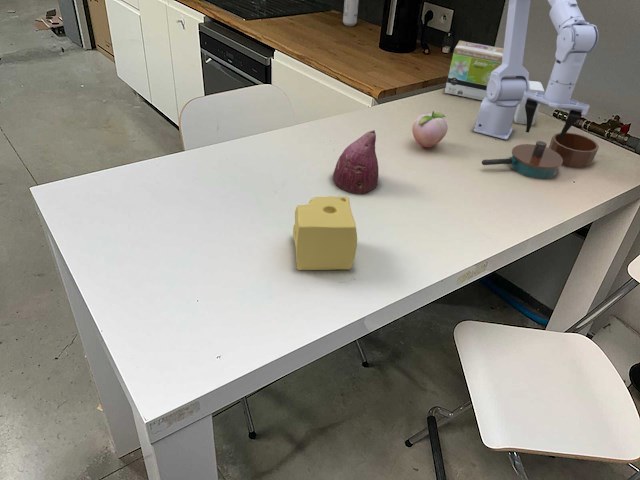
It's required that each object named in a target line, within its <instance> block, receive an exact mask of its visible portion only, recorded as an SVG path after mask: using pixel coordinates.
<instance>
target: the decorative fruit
mask: <svg viewBox="0 0 640 480" xmlns="http://www.w3.org/2000/svg"><path fill="white" fill-rule="evenodd" d="M445 118H446V115H445V114H444V113H442V112H438V111H437V112H435V111H434V110H433V111H432V112H431V113H429V112H427V113H423V114H421V115H419V116H418V117H416V119H415V120H414V121H413V124H412V128H411V132H412V135H413V138H414V140H415V141H416V143H417V144H418V145H420V146H421V147H424V148H431V147H433V146H435V145H437V144H439V143H440V142H441V141H442V140H443V139H444V138H445V137H446V135H447V133H448V130H449V127H448V123H447V121H446V119H445Z"/></svg>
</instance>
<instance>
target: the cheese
mask: <svg viewBox="0 0 640 480" xmlns="http://www.w3.org/2000/svg"><path fill="white" fill-rule="evenodd" d="M292 235H293V236H292V237H293V242H294V246H295V261H296V269H297V271H327V270H328V271H329V270H331V271H333V270H351V269H352V267H353V264H354V261H355V258H356V253H357V248H358V247H357V246H358V231H357V225H356V221H355V218H354V215H353V212H352V208H351V203H350V198H349V197H348V196H332V195H331V196H330V195H329V196H314V197H312V198H311V199H310V200H309V202H308V203H307V204H298V205H297V206H295V209H294V224H293V227H292Z"/></svg>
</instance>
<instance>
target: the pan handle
mask: <svg viewBox="0 0 640 480" xmlns="http://www.w3.org/2000/svg"><path fill="white" fill-rule="evenodd" d="M517 163H518V160H517V159H515V158H514V157H512V156H510V157H509V158H491V159H483V160H482V161H481V165H483V166H492V165H493V166H494V165H511V164H512V165H517Z"/></svg>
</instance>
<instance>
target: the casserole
mask: <svg viewBox="0 0 640 480" xmlns="http://www.w3.org/2000/svg"><path fill="white" fill-rule="evenodd" d="M561 132H562V131H561ZM561 132H557V133H554V134H553V135H552V137H551V140H550V142H549V145H548V148H549V149H551V150H553V151H555V152H557V153H558V154H559V155H560V156H561V157H562V159H563V163H562V165H561V166H565V167H569V168H573V169H585V168H586V169H587V168H588V167H590V166H592V165H593V162H594V161H595V157H596V155H597V153H598V150H599V147H600V146H599V144H598V142H596V141H595V140H594V139H593V138H590V137H588V136H586V135H583V134H579V133H576V132H568V131H567V132H566V134H565V135H564V137H563V138H562V140H561V141H559V140H558V139H559V137H560V134H561Z"/></svg>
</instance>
